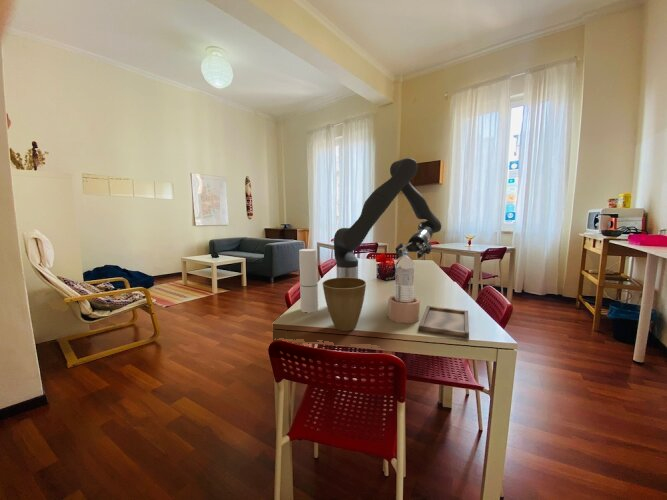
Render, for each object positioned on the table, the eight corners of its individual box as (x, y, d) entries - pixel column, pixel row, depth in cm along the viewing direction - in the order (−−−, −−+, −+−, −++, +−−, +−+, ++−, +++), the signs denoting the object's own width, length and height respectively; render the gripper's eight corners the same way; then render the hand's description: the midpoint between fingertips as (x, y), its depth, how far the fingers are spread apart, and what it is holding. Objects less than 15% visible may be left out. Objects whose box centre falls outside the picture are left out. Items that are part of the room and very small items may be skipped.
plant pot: (332, 316, 105) (332, 276, 103) (370, 321, 99) (370, 278, 97) (316, 332, 91) (315, 285, 89) (359, 339, 86) (359, 289, 84)
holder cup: (385, 320, 101) (385, 301, 100) (392, 310, 111) (392, 294, 110) (416, 325, 96) (416, 305, 95) (420, 314, 106) (421, 297, 105)
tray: (418, 330, 91) (418, 325, 91) (426, 309, 111) (426, 305, 111) (468, 338, 85) (469, 333, 85) (467, 315, 105) (468, 310, 104)
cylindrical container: (319, 307, 116) (318, 248, 113) (316, 313, 109) (315, 251, 106) (302, 306, 117) (301, 248, 114) (299, 312, 110) (297, 251, 106)
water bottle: (409, 322, 99) (411, 253, 95) (391, 318, 102) (392, 252, 99) (415, 316, 104) (416, 251, 101) (397, 313, 108) (398, 250, 105)
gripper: (403, 233, 126) (389, 248, 114) (434, 231, 117) (424, 247, 105) (405, 247, 128) (393, 264, 116) (437, 247, 120) (426, 264, 108)
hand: (407, 256), depth 111 cm, fingers open, 8 cm apart
